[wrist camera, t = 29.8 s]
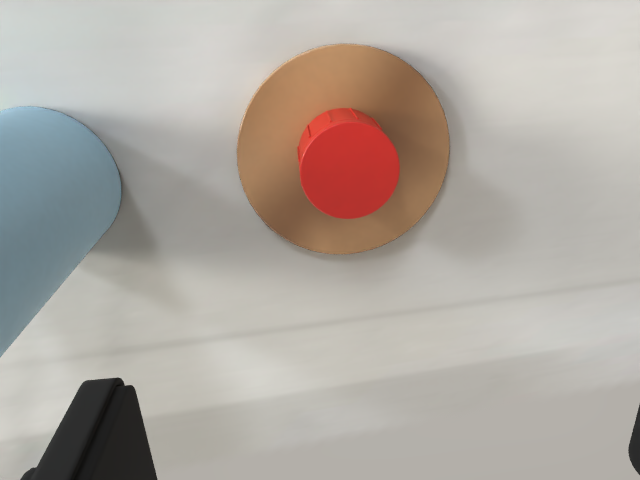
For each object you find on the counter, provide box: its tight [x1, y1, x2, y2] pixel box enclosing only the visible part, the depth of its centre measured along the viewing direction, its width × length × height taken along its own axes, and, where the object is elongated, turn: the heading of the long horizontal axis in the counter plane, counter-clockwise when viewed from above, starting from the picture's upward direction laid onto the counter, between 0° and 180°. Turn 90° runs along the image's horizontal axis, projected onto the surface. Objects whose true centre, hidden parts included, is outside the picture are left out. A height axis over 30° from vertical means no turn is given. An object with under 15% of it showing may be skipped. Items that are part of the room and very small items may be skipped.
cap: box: [297, 108, 400, 219], centre depth 22 cm, size 4×4×3 cm
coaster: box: [237, 44, 449, 254], centre depth 24 cm, size 10×10×1 cm
